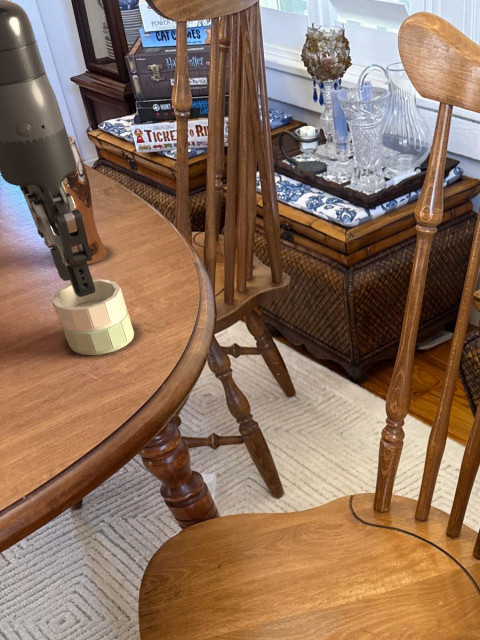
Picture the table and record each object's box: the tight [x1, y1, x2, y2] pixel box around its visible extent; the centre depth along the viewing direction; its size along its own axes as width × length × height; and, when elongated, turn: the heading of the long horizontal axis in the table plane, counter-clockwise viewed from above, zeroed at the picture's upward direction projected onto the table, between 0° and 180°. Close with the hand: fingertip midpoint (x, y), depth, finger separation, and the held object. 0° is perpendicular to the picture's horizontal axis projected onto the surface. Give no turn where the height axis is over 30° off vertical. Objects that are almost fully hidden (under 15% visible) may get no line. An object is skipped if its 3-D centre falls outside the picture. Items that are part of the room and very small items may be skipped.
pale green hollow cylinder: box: [61, 307, 135, 356], centre depth 91 cm, size 7×7×3 cm
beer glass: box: [62, 134, 107, 265], centre depth 104 cm, size 7×7×15 cm
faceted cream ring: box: [51, 278, 127, 332], centre depth 89 cm, size 7×7×3 cm
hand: (78, 285), depth 90 cm, fingers open, 4 cm apart
